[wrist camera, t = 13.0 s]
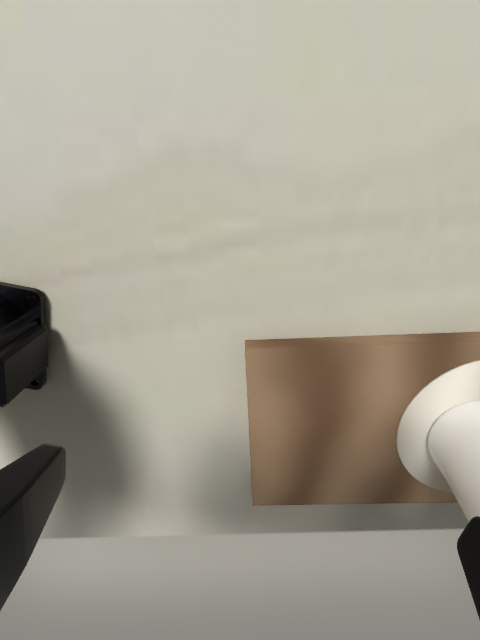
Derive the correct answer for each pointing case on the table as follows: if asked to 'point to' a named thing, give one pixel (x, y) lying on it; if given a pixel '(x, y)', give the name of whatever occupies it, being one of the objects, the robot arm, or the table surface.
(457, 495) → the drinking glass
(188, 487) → the table surface
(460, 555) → the robot arm
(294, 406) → the walnut board
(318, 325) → the table surface
